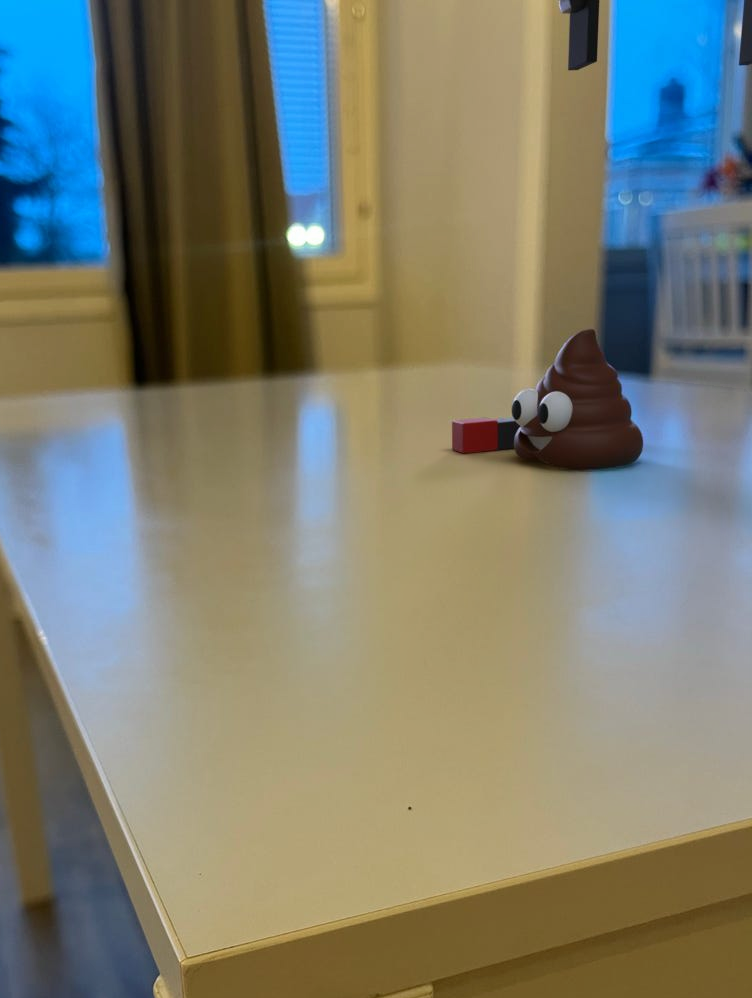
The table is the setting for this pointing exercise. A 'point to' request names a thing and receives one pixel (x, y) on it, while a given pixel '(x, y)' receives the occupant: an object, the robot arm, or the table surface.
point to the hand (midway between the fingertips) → (670, 64)
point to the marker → (483, 434)
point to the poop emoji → (577, 412)
